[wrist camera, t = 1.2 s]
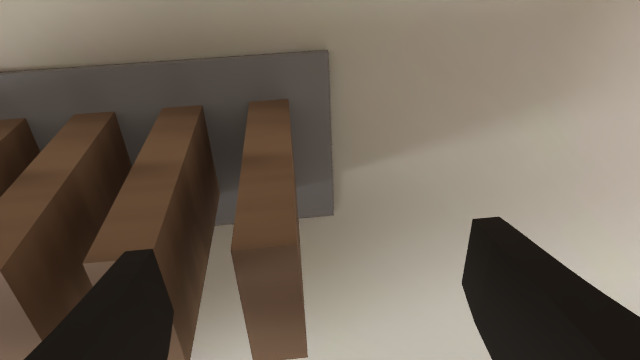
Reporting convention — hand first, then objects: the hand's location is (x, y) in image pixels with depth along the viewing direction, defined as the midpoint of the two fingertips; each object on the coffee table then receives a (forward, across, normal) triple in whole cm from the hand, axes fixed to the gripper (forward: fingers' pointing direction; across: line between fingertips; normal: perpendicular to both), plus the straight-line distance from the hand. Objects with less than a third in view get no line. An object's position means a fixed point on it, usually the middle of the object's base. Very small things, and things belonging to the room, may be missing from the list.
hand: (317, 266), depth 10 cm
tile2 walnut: (+10, +5, +2) cm, 11 cm away
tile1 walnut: (+10, +1, +2) cm, 10 cm away
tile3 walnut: (+10, +8, +2) cm, 13 cm away
